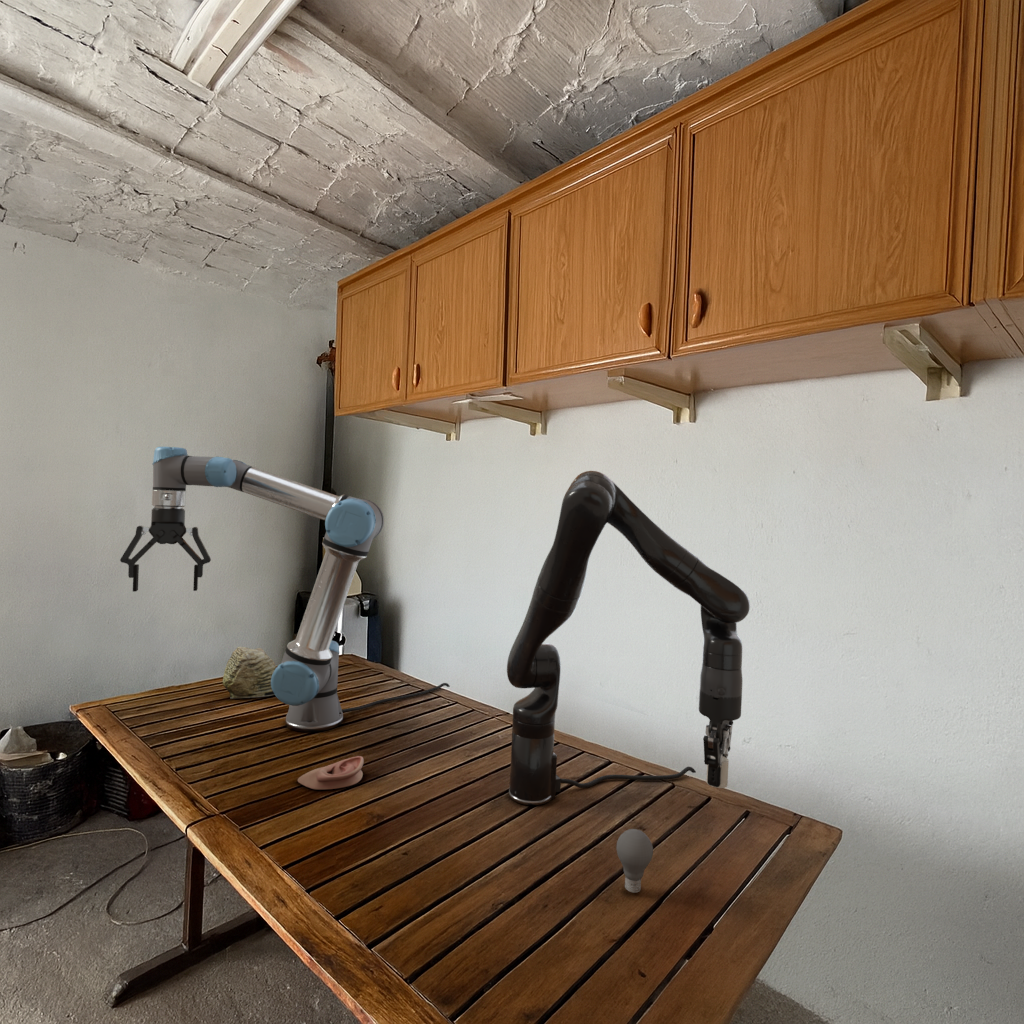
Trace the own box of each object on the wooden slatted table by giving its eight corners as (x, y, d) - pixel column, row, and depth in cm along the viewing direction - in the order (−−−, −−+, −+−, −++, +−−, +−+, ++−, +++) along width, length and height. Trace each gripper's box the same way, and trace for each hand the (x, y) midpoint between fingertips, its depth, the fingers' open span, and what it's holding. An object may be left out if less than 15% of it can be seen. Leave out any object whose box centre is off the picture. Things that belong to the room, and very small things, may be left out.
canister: (706, 777, 121) (707, 753, 121) (726, 781, 120) (728, 756, 120) (706, 786, 117) (707, 760, 117) (727, 789, 116) (729, 764, 116)
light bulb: (610, 879, 108) (613, 822, 108) (644, 879, 109) (647, 822, 109) (619, 902, 102) (622, 840, 102) (655, 901, 103) (658, 840, 103)
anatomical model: (290, 768, 137) (317, 748, 149) (290, 786, 138) (316, 764, 149) (347, 776, 135) (370, 755, 146) (346, 794, 135) (369, 772, 146)
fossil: (218, 695, 195) (220, 647, 195) (278, 685, 208) (279, 640, 207) (228, 703, 189) (230, 653, 188) (289, 692, 201) (290, 645, 201)
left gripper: (108, 506, 154) (105, 593, 154) (221, 509, 163) (218, 591, 163) (115, 505, 161) (112, 588, 161) (222, 508, 170) (220, 587, 170)
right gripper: (709, 677, 126) (705, 763, 126) (690, 695, 114) (686, 789, 114) (748, 684, 122) (744, 773, 123) (733, 703, 110) (729, 801, 110)
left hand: (165, 590), depth 162 cm, fingers open, 13 cm apart
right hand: (716, 780), depth 118 cm, fingers closed on canister, 3 cm apart
